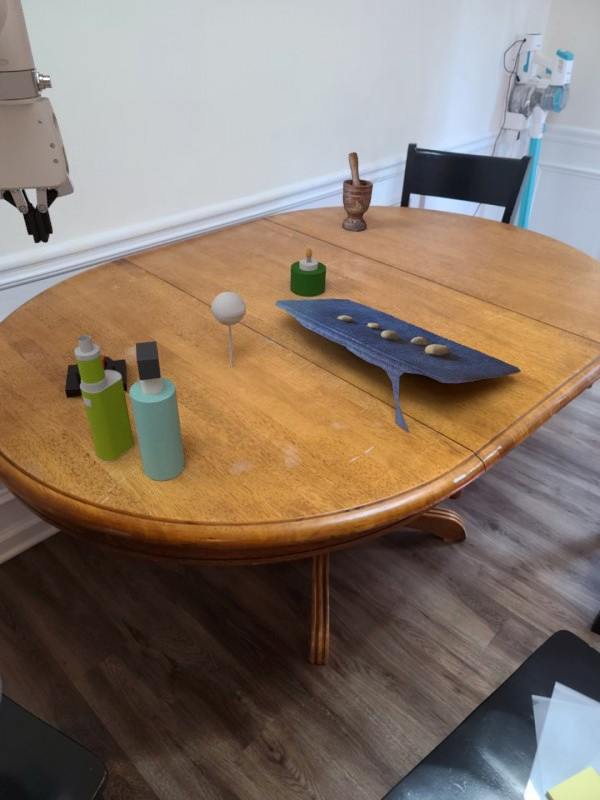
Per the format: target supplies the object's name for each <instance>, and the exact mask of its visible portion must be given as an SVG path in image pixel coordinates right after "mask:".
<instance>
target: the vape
mask: <svg viewBox="0 0 600 800" xmlns="http://www.w3.org/2000/svg"><path fill="white" fill-rule="evenodd" d="M77 341H78V346H77V347H75V349H74V351H73V353H74V356H75V359H76V364H78V368H79V372H80V376H81V384H80V388H81V393H82V396H81V397H82V401H83V404H84V409H85V412H86V416H87V421H88V426H89V429H90V434H91V437H92V440H93V445H94V449H95V453H96V457H97V458H98V459H99V460H100V461H102V462H105V463H112V462H116V461H117V460H119V459H120V458H121V457H123V456H124V455H126V454H127V453H128V452H129V451H131V450H132V449H134V447H135V439H134V434H133V428H132V424H131V419H130V414H129V408H128V404H127V398H126V391H124V387H123V382H122V376H121V374H120V373H119V372H117V371H114V370H104V367H103V362H102V358H101V355H102V354H101V353H102V352H101V348H100V345H98V344H96V343H93V341H92V336H91V335H88V334H83V335H80V336H78V337H77Z"/></svg>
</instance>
